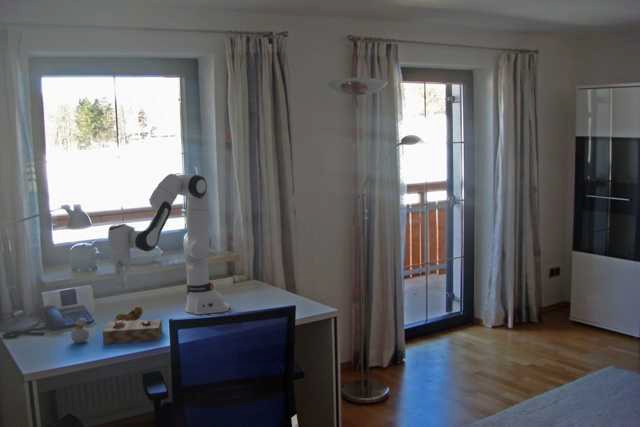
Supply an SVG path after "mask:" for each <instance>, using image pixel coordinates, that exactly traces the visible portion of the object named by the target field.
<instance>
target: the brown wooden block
mask: <svg viewBox="0 0 640 427" xmlns="http://www.w3.org/2000/svg"><path fill="white" fill-rule="evenodd" d="M123 321H124V322H125V326H124V327H119V328H113V325H114V322H115V321H109V322H107V323H106V325H105V326H104V328H103V331H102V339H103V340H102V342H103V344H102V345H104V346H105V345H116V344H117V345H119V344H118V343H121V344H133V343H134V342H135V343H146V342H145V341H150V342H160V339H161V337H160V336H162V333H163V322H162V321H163V320H162V318H157V319H156V318H155V319H154V318H153V319H151V318H150V319H137V320H135V321H132V320H131V321H125V320H123ZM143 321H151V323H152V325H150V326H141V325H142V322H143Z"/></svg>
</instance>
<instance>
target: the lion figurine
mask: <svg viewBox="0 0 640 427" xmlns="http://www.w3.org/2000/svg"><path fill="white" fill-rule="evenodd" d="M142 316H143V307H141V305H140V306H139V305H138V306H136V307H134V308H133V310H131V311H129V313H123V312H122V313H121V312H120V313H118V314H117V315H116V316H115V319H114V322H115V321H120V320H121V321H135V320H140V318H141V317H142Z"/></svg>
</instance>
